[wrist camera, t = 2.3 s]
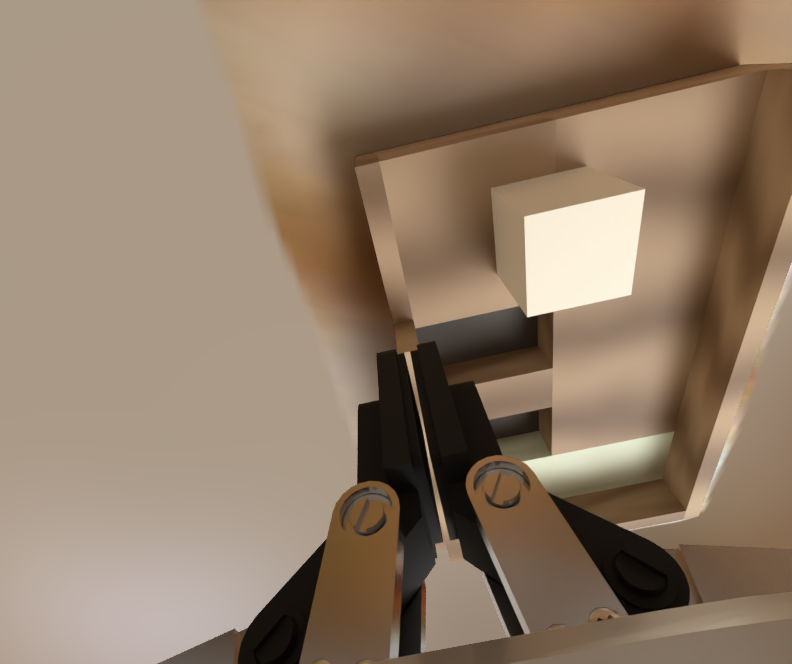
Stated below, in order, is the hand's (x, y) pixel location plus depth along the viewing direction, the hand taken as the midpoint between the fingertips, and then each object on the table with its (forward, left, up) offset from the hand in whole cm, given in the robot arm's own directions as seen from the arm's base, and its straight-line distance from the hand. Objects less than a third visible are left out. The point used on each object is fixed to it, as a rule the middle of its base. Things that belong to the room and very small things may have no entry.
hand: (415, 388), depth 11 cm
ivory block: (-1, +7, -8) cm, 11 cm away
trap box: (+8, +8, -11) cm, 16 cm away
